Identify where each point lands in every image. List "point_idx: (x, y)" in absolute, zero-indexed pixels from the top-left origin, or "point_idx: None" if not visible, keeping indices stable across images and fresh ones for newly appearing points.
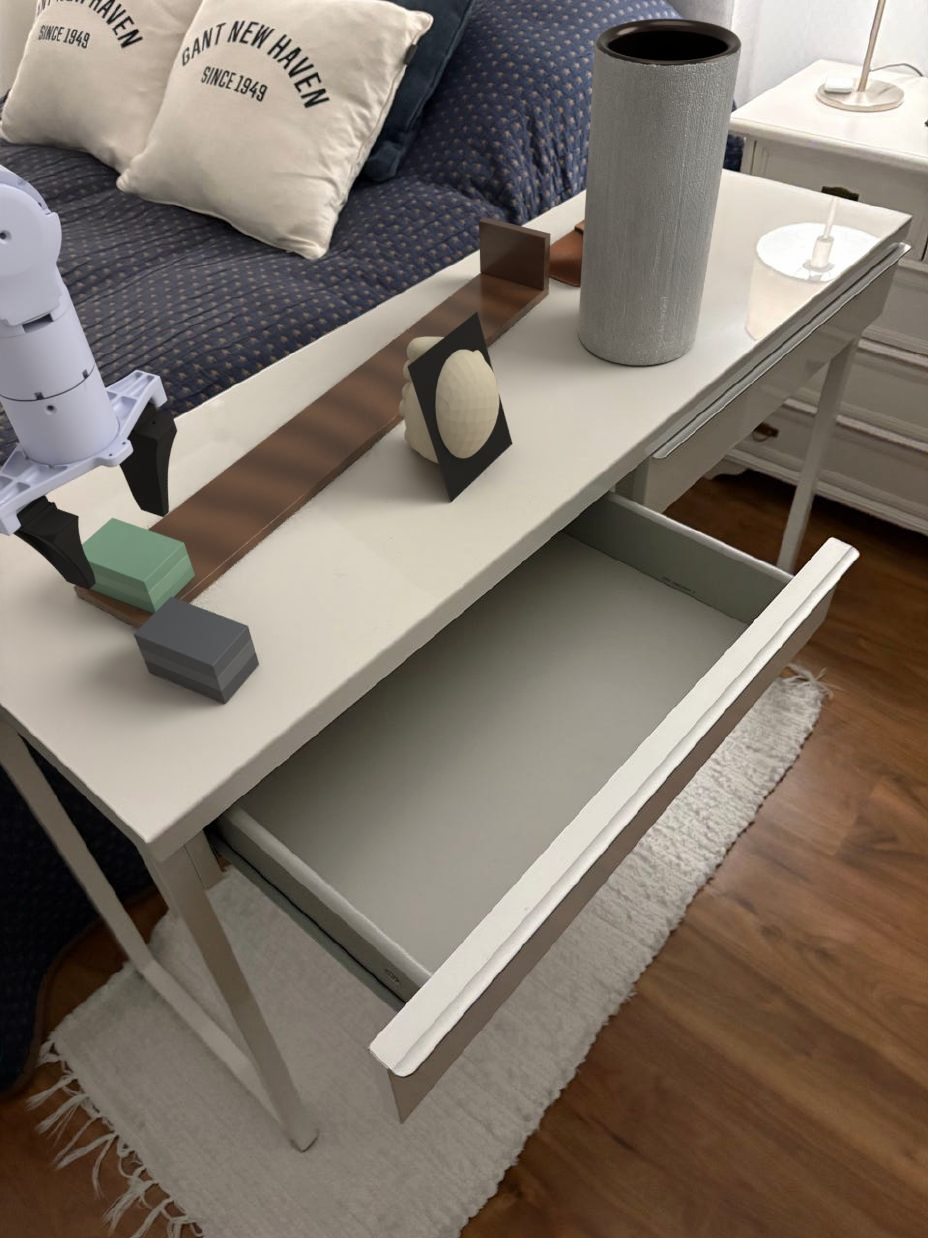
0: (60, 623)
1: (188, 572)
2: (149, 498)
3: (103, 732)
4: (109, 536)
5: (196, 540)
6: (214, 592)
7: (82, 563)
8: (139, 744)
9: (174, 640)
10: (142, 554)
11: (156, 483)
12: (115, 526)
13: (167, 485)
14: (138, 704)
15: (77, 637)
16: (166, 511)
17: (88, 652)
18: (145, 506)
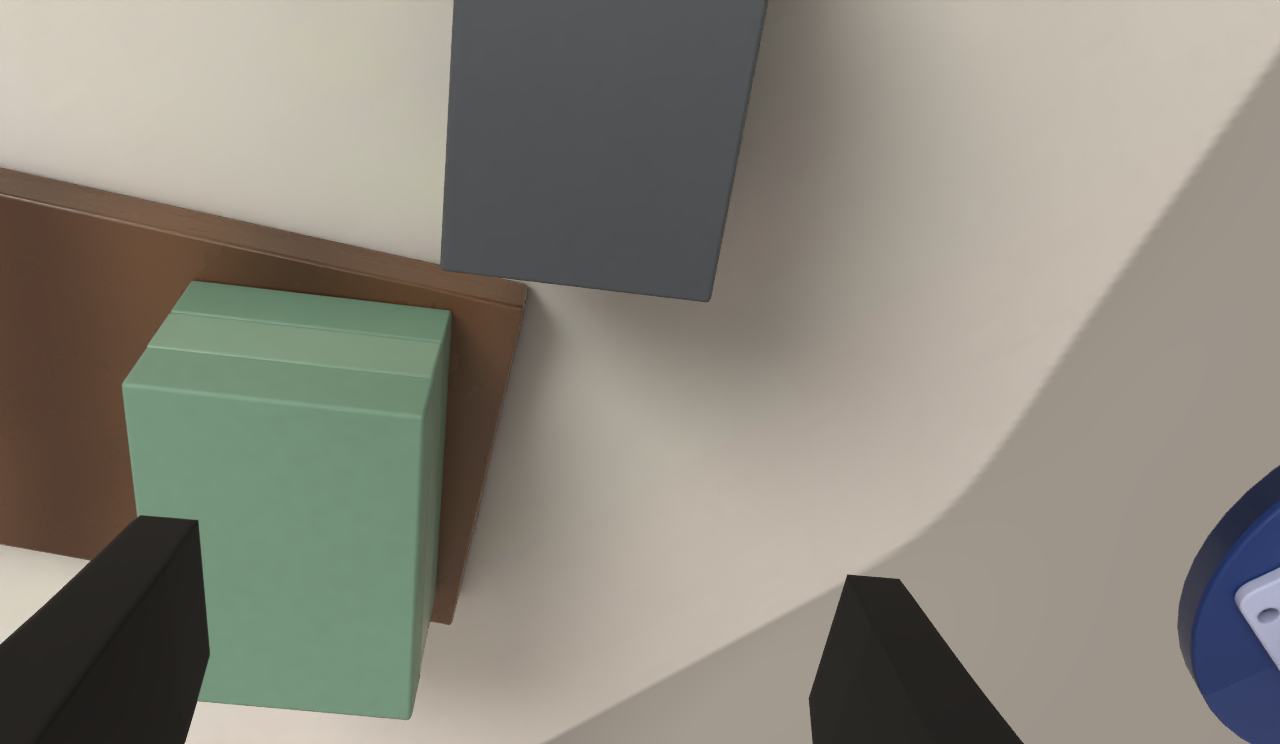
0: (584, 577)
1: (207, 304)
2: (157, 673)
3: (1004, 201)
4: (256, 657)
5: (18, 374)
6: (210, 172)
7: (968, 728)
8: (1040, 40)
9: (690, 107)
10: (281, 502)
11: (65, 725)
12: None
13: (8, 646)
14: (852, 150)
15: (621, 502)
16: (153, 529)
17: (671, 438)
18: (193, 652)
